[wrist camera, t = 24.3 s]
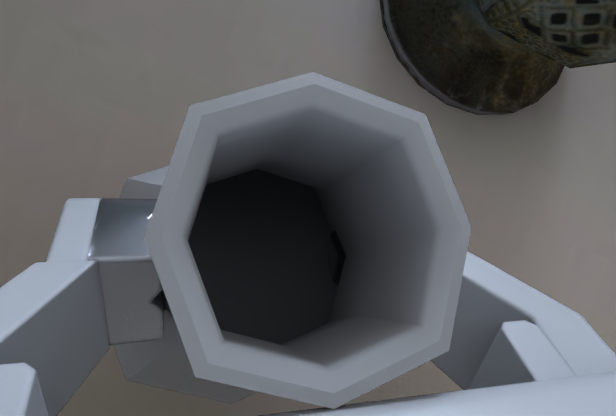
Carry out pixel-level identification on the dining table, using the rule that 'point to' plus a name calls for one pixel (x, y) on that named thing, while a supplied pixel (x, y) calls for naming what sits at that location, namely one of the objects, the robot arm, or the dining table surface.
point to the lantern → (497, 46)
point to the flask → (299, 246)
